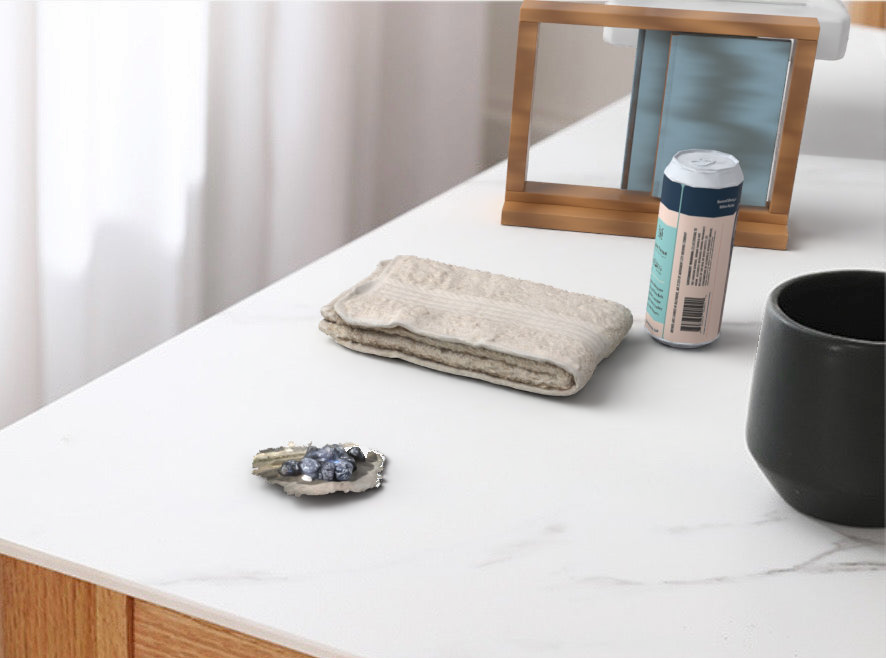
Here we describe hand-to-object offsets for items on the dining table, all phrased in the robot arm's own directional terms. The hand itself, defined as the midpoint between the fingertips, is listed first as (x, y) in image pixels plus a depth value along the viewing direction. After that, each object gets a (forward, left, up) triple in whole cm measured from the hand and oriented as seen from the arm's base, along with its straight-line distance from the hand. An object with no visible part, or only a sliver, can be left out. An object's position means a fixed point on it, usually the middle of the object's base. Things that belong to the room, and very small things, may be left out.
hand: (725, 47), depth 128 cm
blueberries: (+21, +59, -10) cm, 64 cm away
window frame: (+5, +15, -10) cm, 19 cm away
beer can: (+2, +36, -10) cm, 38 cm away
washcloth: (+15, +40, -10) cm, 44 cm away
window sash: (+3, +12, -8) cm, 15 cm away
